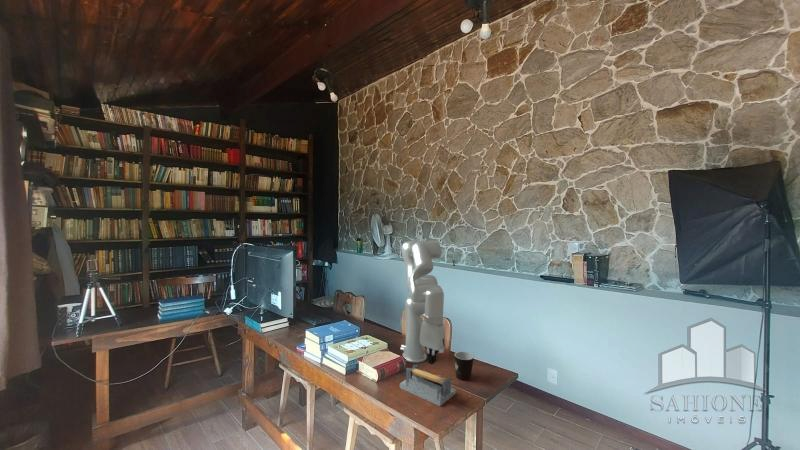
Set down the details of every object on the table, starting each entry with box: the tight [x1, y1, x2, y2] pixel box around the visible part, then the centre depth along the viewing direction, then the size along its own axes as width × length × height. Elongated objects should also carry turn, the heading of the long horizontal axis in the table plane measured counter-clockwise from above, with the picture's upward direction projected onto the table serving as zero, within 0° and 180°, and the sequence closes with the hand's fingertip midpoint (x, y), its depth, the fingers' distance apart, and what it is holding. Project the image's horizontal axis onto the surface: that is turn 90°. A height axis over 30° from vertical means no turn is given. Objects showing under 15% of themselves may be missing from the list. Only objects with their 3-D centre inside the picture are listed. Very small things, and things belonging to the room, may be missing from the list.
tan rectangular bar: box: [411, 367, 446, 384], centre depth 138 cm, size 17×3×2 cm, turn 51°
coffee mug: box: [454, 351, 475, 382], centre depth 152 cm, size 12×9×10 cm
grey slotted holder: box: [399, 363, 457, 407], centre depth 138 cm, size 20×12×8 cm, turn 51°
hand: (431, 362), depth 137 cm, fingers closed
